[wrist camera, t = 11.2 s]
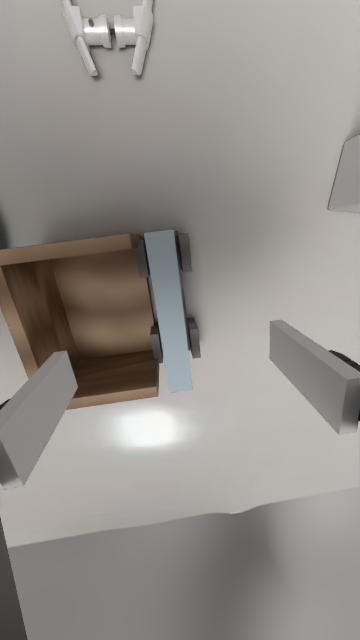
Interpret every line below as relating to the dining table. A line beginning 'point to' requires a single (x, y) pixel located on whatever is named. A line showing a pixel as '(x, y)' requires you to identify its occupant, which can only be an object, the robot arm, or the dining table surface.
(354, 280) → the dining table surface
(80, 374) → the cabinet
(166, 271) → the door
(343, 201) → the milk carton
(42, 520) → the dining table surface
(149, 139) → the dining table surface
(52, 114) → the dining table surface
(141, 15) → the door handle
